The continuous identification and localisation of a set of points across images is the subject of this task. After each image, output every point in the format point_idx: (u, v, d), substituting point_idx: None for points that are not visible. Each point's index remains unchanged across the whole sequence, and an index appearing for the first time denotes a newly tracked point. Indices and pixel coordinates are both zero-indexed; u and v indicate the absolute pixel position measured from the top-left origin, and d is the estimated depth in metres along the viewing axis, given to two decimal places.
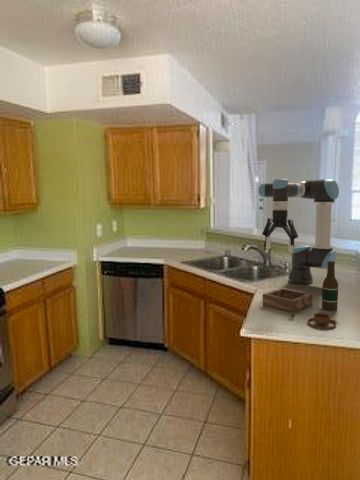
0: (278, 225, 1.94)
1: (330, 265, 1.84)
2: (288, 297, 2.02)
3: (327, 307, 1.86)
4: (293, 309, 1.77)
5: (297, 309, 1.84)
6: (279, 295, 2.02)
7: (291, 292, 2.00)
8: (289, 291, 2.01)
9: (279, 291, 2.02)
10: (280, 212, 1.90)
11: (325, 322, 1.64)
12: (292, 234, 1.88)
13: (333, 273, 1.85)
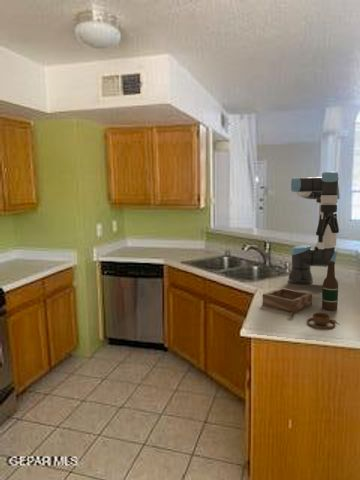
0: None
1: (330, 265, 1.85)
2: (288, 297, 2.02)
3: (327, 307, 1.86)
4: (293, 309, 1.77)
5: (297, 309, 1.84)
6: (279, 295, 2.02)
7: (291, 292, 2.00)
8: (289, 291, 2.01)
9: (279, 291, 2.02)
10: (320, 206, 1.83)
11: (324, 322, 1.64)
12: None
13: (333, 273, 1.85)
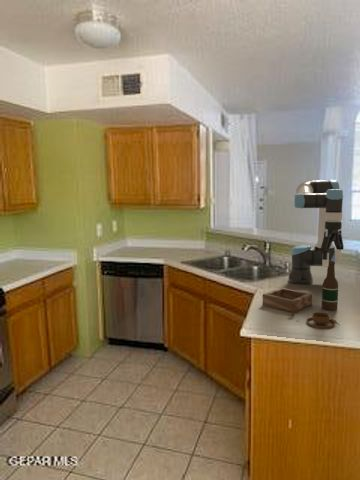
0: None
1: (330, 265, 1.85)
2: (288, 297, 2.02)
3: (327, 307, 1.86)
4: (293, 308, 1.78)
5: (297, 309, 1.84)
6: (279, 295, 2.02)
7: (291, 292, 2.00)
8: (289, 291, 2.01)
9: (279, 291, 2.02)
10: (325, 223, 1.84)
11: (323, 321, 1.64)
12: None
13: (333, 273, 1.85)
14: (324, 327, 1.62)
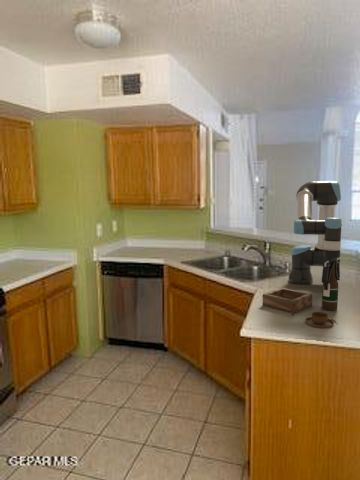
0: None
1: None
2: (288, 297, 2.02)
3: (327, 307, 1.86)
4: (292, 308, 1.79)
5: (297, 309, 1.84)
6: (279, 295, 2.02)
7: (291, 292, 2.00)
8: (289, 291, 2.01)
9: (279, 291, 2.02)
10: (324, 251, 1.85)
11: (322, 321, 1.65)
12: None
13: (333, 273, 1.85)
14: (322, 326, 1.63)
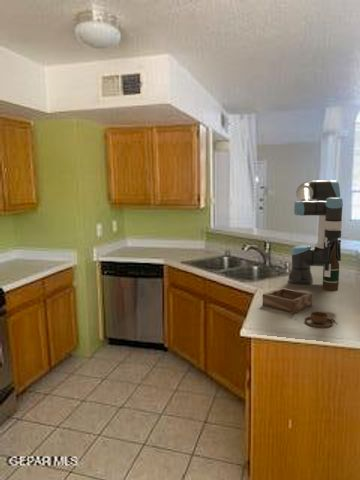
0: None
1: None
2: (288, 297, 2.02)
3: (328, 288, 1.85)
4: (292, 307, 1.79)
5: (297, 309, 1.84)
6: (279, 295, 2.02)
7: (291, 292, 2.00)
8: (289, 291, 2.01)
9: (279, 291, 2.02)
10: (324, 232, 1.84)
11: (321, 321, 1.65)
12: None
13: (334, 253, 1.84)
14: (321, 326, 1.63)
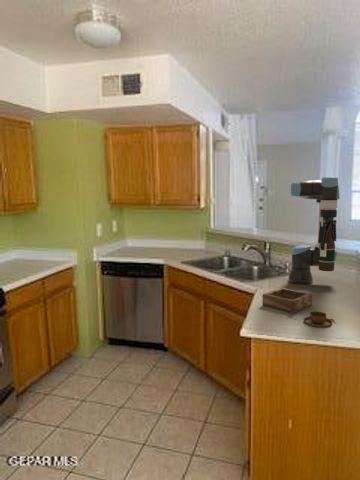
0: None
1: None
2: (288, 297, 2.02)
3: (324, 268, 1.84)
4: (292, 307, 1.80)
5: (297, 309, 1.84)
6: (279, 295, 2.02)
7: (291, 292, 2.00)
8: (289, 291, 2.01)
9: (279, 291, 2.02)
10: (320, 211, 1.84)
11: (320, 320, 1.66)
12: None
13: (330, 233, 1.83)
14: (320, 326, 1.63)
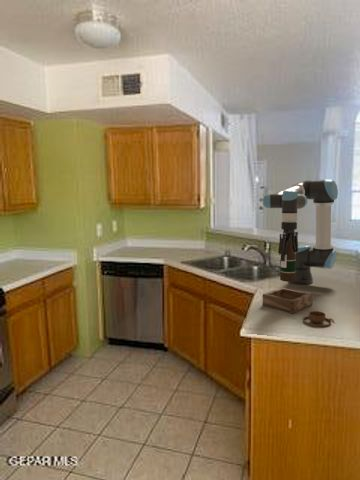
0: None
1: None
2: (288, 297, 2.02)
3: (285, 278, 1.90)
4: (291, 306, 1.80)
5: (297, 309, 1.84)
6: (279, 295, 2.02)
7: (291, 292, 2.00)
8: (289, 291, 2.01)
9: (279, 291, 2.02)
10: (281, 224, 1.90)
11: (319, 320, 1.66)
12: None
13: (290, 245, 1.89)
14: (319, 326, 1.64)
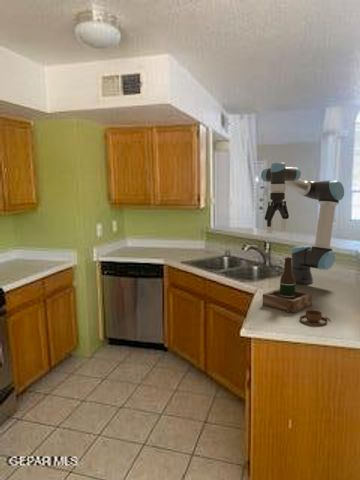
0: None
1: (287, 261, 1.91)
2: None
3: None
4: (288, 306, 1.82)
5: (297, 309, 1.84)
6: (279, 295, 2.02)
7: None
8: None
9: (279, 291, 2.02)
10: (270, 194, 2.02)
11: (316, 319, 1.68)
12: None
13: (290, 269, 1.91)
14: (316, 324, 1.66)
